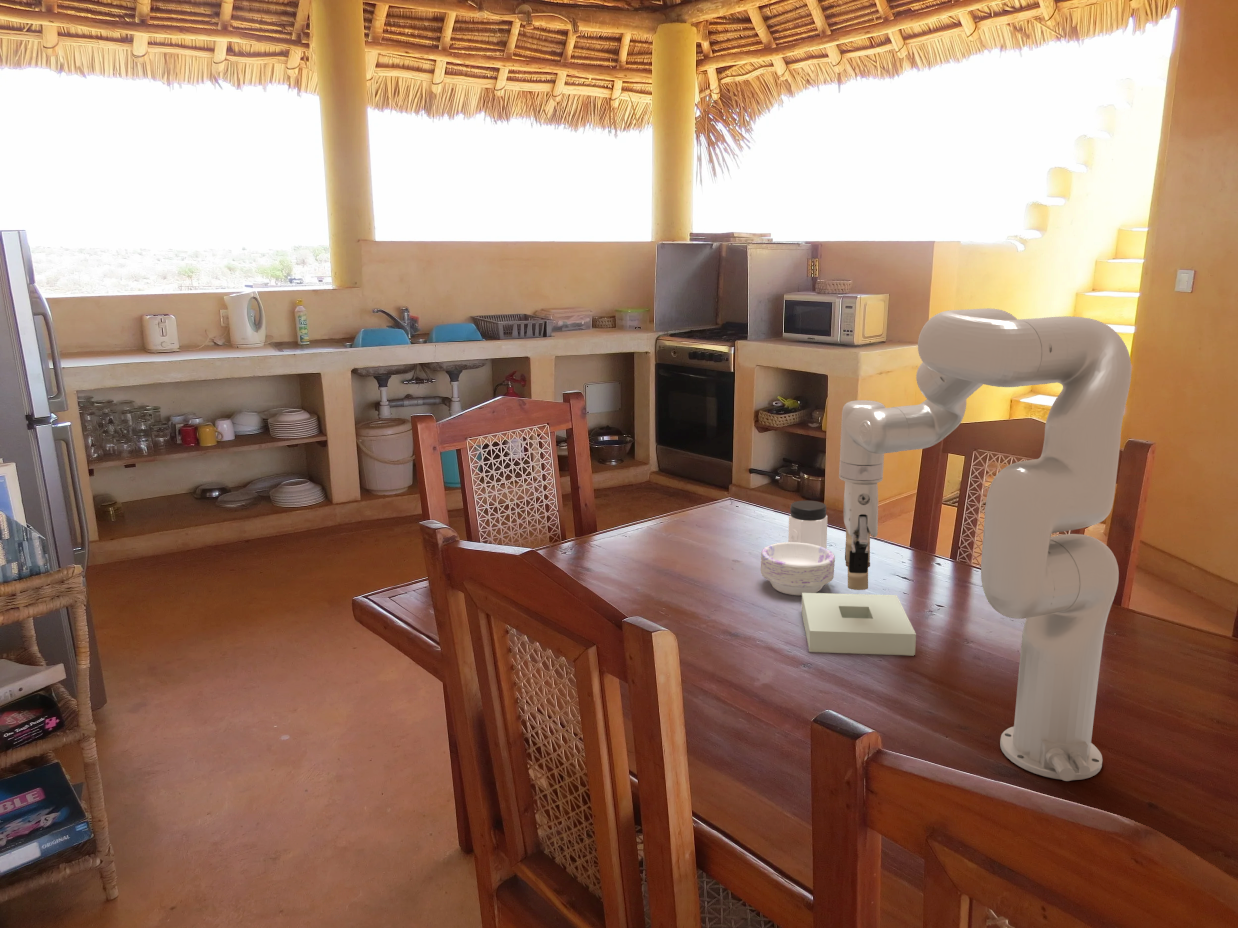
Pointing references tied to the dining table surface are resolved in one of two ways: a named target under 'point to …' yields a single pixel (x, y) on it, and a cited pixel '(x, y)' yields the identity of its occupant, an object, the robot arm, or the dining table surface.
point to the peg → (856, 579)
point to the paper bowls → (797, 567)
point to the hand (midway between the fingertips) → (855, 565)
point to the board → (857, 624)
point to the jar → (808, 523)
